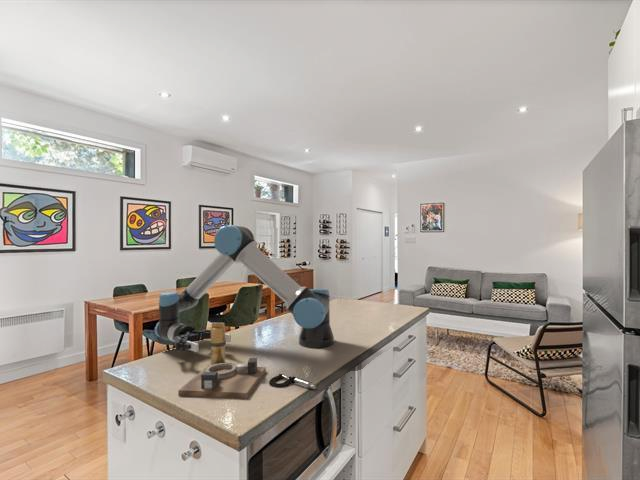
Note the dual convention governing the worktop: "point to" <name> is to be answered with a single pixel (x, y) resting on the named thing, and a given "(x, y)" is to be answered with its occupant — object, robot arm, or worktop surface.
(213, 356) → the coupling
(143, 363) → the worktop surface
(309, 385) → the micrometer
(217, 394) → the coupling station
